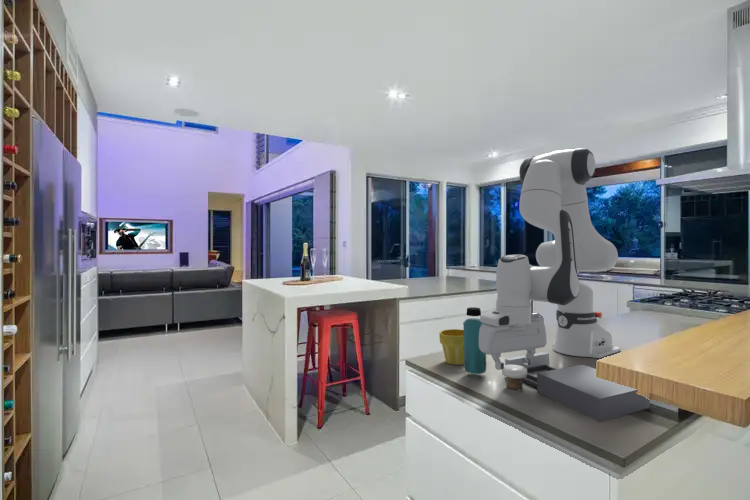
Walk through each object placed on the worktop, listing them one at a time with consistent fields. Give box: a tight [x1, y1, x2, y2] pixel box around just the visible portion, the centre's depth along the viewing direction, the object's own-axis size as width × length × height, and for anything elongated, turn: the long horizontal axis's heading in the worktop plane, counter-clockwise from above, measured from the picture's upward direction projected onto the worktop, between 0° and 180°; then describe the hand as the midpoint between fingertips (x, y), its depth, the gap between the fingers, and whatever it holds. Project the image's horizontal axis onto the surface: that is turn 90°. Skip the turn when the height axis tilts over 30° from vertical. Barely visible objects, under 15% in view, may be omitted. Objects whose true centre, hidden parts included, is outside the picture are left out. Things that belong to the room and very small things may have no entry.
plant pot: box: [439, 328, 464, 366], centre depth 126 cm, size 10×10×10 cm
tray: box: [504, 351, 557, 388], centre depth 106 cm, size 18×15×5 cm
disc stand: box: [506, 377, 524, 391], centre depth 104 cm, size 4×4×4 cm
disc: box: [501, 364, 527, 379], centre depth 104 cm, size 6×6×2 cm
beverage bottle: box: [462, 306, 488, 375], centre depth 113 cm, size 6×7×20 cm
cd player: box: [536, 363, 651, 422], centre depth 95 cm, size 18×16×5 cm
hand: (513, 366), depth 103 cm, fingers open, 8 cm apart
